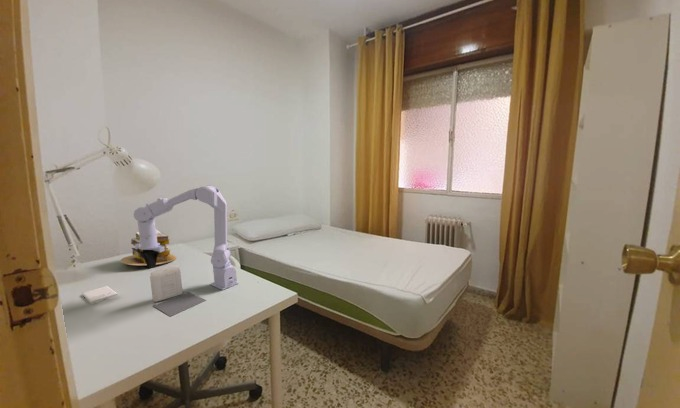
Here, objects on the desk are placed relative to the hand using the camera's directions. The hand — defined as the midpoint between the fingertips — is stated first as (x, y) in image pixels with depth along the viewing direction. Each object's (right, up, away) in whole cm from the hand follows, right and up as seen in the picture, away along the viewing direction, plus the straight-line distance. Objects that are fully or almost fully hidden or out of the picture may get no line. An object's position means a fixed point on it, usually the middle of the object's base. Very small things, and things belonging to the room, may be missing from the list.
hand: (151, 266), depth 110 cm
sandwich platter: (-26, -6, +35) cm, 44 cm away
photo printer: (+10, -11, -5) cm, 16 cm away
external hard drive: (-19, -12, -3) cm, 23 cm away
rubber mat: (+18, -12, -10) cm, 23 cm away
